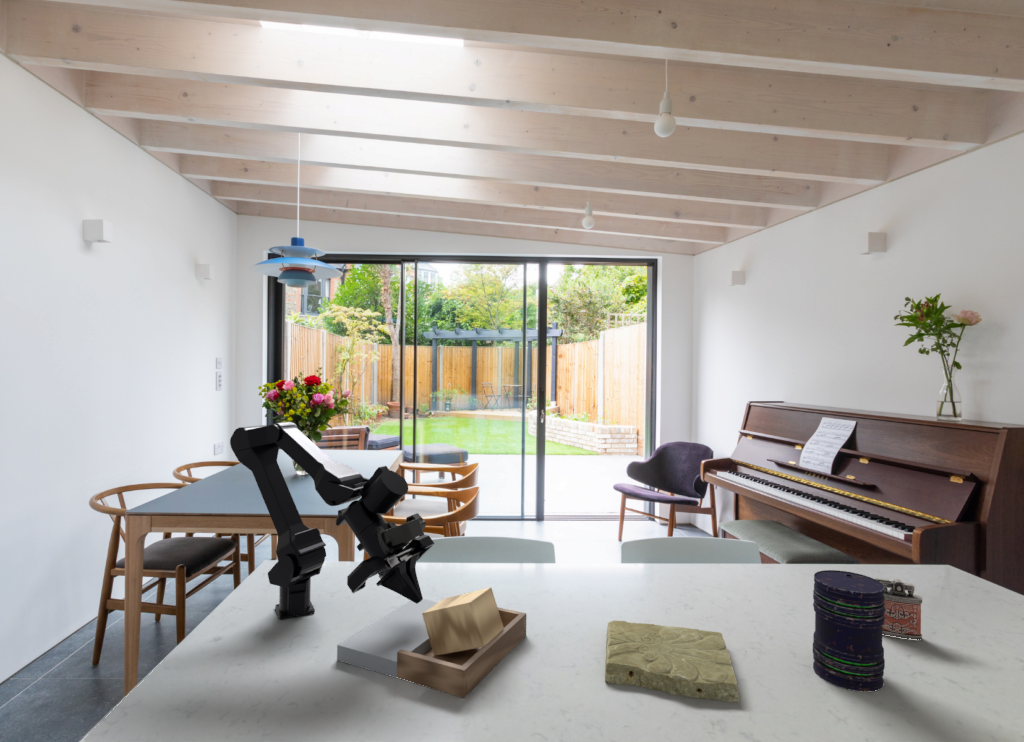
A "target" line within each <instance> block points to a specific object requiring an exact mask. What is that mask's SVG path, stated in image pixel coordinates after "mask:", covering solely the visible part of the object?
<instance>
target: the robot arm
mask: <svg viewBox="0 0 1024 742" xmlns="http://www.w3.org/2000/svg"><path fill="white" fill-rule="evenodd" d="M229 440H230V441H229V445H230V448H231V450H232V452H233V453H234V456H235V458H237V459H236V460H237V461H238V462H239V463H240V464H241V465H242V466H244V467H246V469H248V470H250V471H251V473H252V475H253V478H254V481H255V483H256V485H257V487H258V489H259V492H260V495H261V497H262V500H263V502H264V504H265V506H266V509H267V511H268V513H269V516H270V519H271V521H272V523H273V526H274V528H275V531H276V533H277V537H278V538H277V545H276V548H275V549H276V550H275V553H276V554H275V555H276V558H277V562H276V563H275V564H274V565H273V566H272V568H271V569H270V570H269V571H267V578H268V582H269V585H273V586H277V587H279V595H278V597H279V598H278V599H279V600H278V601H279V603H277V604H275V610H276V613H277V614H276V615H277V616H278V620H279V619H280V620H282V619H288V618H293V617H299V616H304V615H308V614H314V613H315V611H316V609H315V607H314V605H313V604H312V601H311V587H312V586H311V580H312V579H311V578H312V577H314V576H317V575H320V574H321V571H322V567H323V565H324V564H325V559H326V557H327V550H326V548H325V547H326V546H327V544H326V543H325V541H324V540H323V538H322V536H321V532H320V530H319V529H318V527H314V528H313V527H312V528H310V527H308V526H307V525H305V523H304V522H303V519H302V517H301V515H300V513H299V510H298V508H297V506H296V503H295V500H294V499H293V495H292V494H291V492H290V489H289V487H288V484H287V482H286V479H285V477H284V475H283V472H282V470H281V468H280V465H279V463H278V457H279V456H278V455H279V451H280V449H281V450H282V451H283V452H284V453H285V454H286V455H287V456H288V457H289V458H290V459H292V460H293V461H294V462H295V463H296V464H297V465H298V466H299V467H300V468H301V469H302V470H303V471H304V472H305V473H306V474H308V475H309V476H310V477H311V479H312V481H313V483H314V489H315V491H316V493H317V494H318V495H319V497H320V498H321V499H322V500H323V502H324V503H325V504H327V505H328V506H329V507H336V506H337V507H338V506H340V505H344V504H347V503H349V505H348V506H347V507H345V508H341V509H339V510H338V511H337V517H336V519H335V521H336V522H335V525H336V526H337V527H339V526H342V525H345V524H347V526H348V527H349V528H350V529H351V531H352V534H353V535H354V536H355V537H356V538H357V540H358V542H359V543H358V545H356V548H357V550H358V551H359V552H361V551H365V552H366V554H367V555H368V557H369V558H367V559H365V560H362V561H361V562H360V563H359V564H358V565H357V566H356V567H355V568H354V569H352V571H351V572H350V573H349V574H348V575H347V577H346V580H347V581H346V584H347V587H348V588H349V589H350V592H351V593H352V594H355V593H357V592H359V591H361V590H363V589H364V588H365V587H366V582H367V580H369V579H370V578H372V577H374V576H376V575H378V578H379V580H378V581H377V582H376V586H377V587H379V586H381V587H384V588H386V589H388V590H390V591H393V592H394V593H396V594H398V595H401V596H402V597H404V598H406V599H408V600H409V601H413V602H415V603H416V604H418V603H419V602H421V601H422V600H423V599H424V597H423V595H422V591H421V587H420V583H419V580H418V575H417V571H416V564H417V562H418V561H419V560H420V559H421V558H422V557H424V555H426V553H427V552H428V551H429V550H431V548H432V547H433V546H434V545H435V542H434V540H433V539H432V538H431V537H430V535H428V534H425V532H424V530H425V529H426V521H425V519H424V518H423V517H422V516H421V515H420V514H419V513H418V512H417V513H413V514H411V515H408V516H406V522H404V523H401V525H397V524H396V523H395V522H394V521H389V522H387V521H386V520H385V518H384V517H383V515H386V514H388V513H389V512H390V511H391V510H392V509H394V507H395V506H396V505H397V504H398V503H399V502H400V501H401V499H403V497H405V495H407V493H408V491H409V484H408V482H407V481H406V479H405V478H404V477H403V476H401V475H400V474H399V473H398V472H396V471H394V470H390V469H389V468H388V466H387V465H382V466H379V467H378V468H377V469H376V470H375V471H374V472H373V474H372V476H371V477H370V478H367V477H363V475H362V473H360V472H359V471H358V470H356V469H354V468H352V467H351V466H349V465H347V464H344V463H340V462H338V461H335V460H334V459H332V458H331V457H330V456H328V454H326V452H324V451H323V450H322V449H321V448H320V447H319V446H317V445H316V444H315V443H314V442H313V441H312V440H311V439H309V438H308V436H307V435H305V434H304V433H303V432H302V431H301V430H300V429H299V427H298V426H297V424H296V423H294V422H292V421H282V422H281V421H280V422H274V423H272V424H269V425H267V424H264V425H263V424H262V425H253V426H244V427H243V426H241V427H238V428H236V429H235V430H234V431H233V432H232V434H231V436H230V439H229Z"/></svg>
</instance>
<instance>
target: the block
mask: <svg viewBox="0 0 1024 742" xmlns="http://www.w3.org/2000/svg"><path fill="white" fill-rule="evenodd" d="M493 591H494V590H493V587H487V588H482V589H479V590H475V591H471V592H467V593H461V594H458V595H453V596H449V597H446V598H443V599H442V600H440V601H437V602H438V603H437V604H435V605H434V606H432V607H431V608H429V609H428V610H426V611H425V612H423V613H422V615H423V619H424V622H425V626H426V629H427V633H428V636H429V640H430V643H431V647H432V650H433V654H434V656H436V655H442V654H447V653H453V652H458V651H463V650H469V649H474V648H479V647H484V646H485V645H487V644H488V643H489V642H490V641H491V640H492V639H493V638H494V637H495V636H497V635H498V634H499V633H500V632H501V631H502V630H503V629H504V627H503V624H502V620H501V617H500V614H499V611H498V607H499V606H498V605H497V601H496V598H495V595H494V592H493Z"/></svg>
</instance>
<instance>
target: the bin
mask: <svg viewBox="0 0 1024 742" xmlns="http://www.w3.org/2000/svg"><path fill="white" fill-rule="evenodd" d="M497 607H498V611H499V614H500V617H501V620H502V624H503V627H504V629H503V630H502V631H501V632H500V633H499V634H498V635H497V636H495V637H494V638H493V639H492V640H491V641H490V642H489V643H488V644H487V645H485V646H484V647H479V648H474V649H469V650H463V651H458V652H453V653H447V654H442V655H436V656H434V654H433V650H432V648H431V649H430V650H428V651H427V652H426V653H424V654H423V655H420V654H417V653H413V652H409V651H406V650H402V649H401V650H399V651H398V652H397V677H398V678H401V679H400V680H402V679H405V680H408V681H411V682H410V683H412V682H414V683H413V684H415V683H416V685H419V684H420V685H419V686H422V685H424V686H423V687H425V686H427V687H426V688H429V687H430V688H429V689H433V690H435V689H436V690H435V691H439V690H440V691H439V692H442V693H445V692H446V694H450V695H451V696H455V697H460V698H462V699H465V698H466V697H467V696H468V695H469V694H470V693H471V692H472V691H473V690H474V688H476V687H477V686H478V685H479V684H480V683H481V681H483V680H484V679H485V678H486V676H488V675H489V674H490V673H491V672H492V671H493V669H495V667H497V665H499V663H501V661H503V659H505V657H507V656H508V655H509V654H510V653H511V651H513V650H514V648H516V647H517V646H518V645H519V644H520V642H521V641H522V640H524V639H525V638H526V636H527V613H526V612H521V611H516V610H513V609H508V608H503V607H499V606H497ZM398 678H397V679H398ZM405 680H404V681H405ZM408 681H407V682H408Z"/></svg>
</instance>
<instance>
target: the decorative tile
mask: <svg viewBox="0 0 1024 742" xmlns="http://www.w3.org/2000/svg"><path fill="white" fill-rule="evenodd" d="M606 629H607V630H606V641H605V644H606V646H605V653H606V654H605V662H604V663H605V664H604V665H605V669H604V681H605V682H607V683H608V684H611V685H618V686H621V685H622V686H626V685H627V686H628V685H630V686H636V687H641V688H645V689H649V690H655V691H656V690H657V691H662V692H664V693H668V694H670V695H672V696H683V697H686V698H693V699H694V698H695V699H707V700H714V701H723V702H729V703H740V695H739V686H738V682H737V678H736V674H735V671H734V669H733V665H732V661H731V655H730V653H729V651H728V648H727V645H726V642H725V639H724V637H723V633H722V632H718V631H711V630H702V629H698V628H697V629H696V628H690V627H680V626H673V625H672V626H671V625H670V626H669V625H660V624H654V623H641V622H640V623H638V622H637V623H636V622H628V621H625V620H611V621H609V622H607V628H606Z"/></svg>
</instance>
